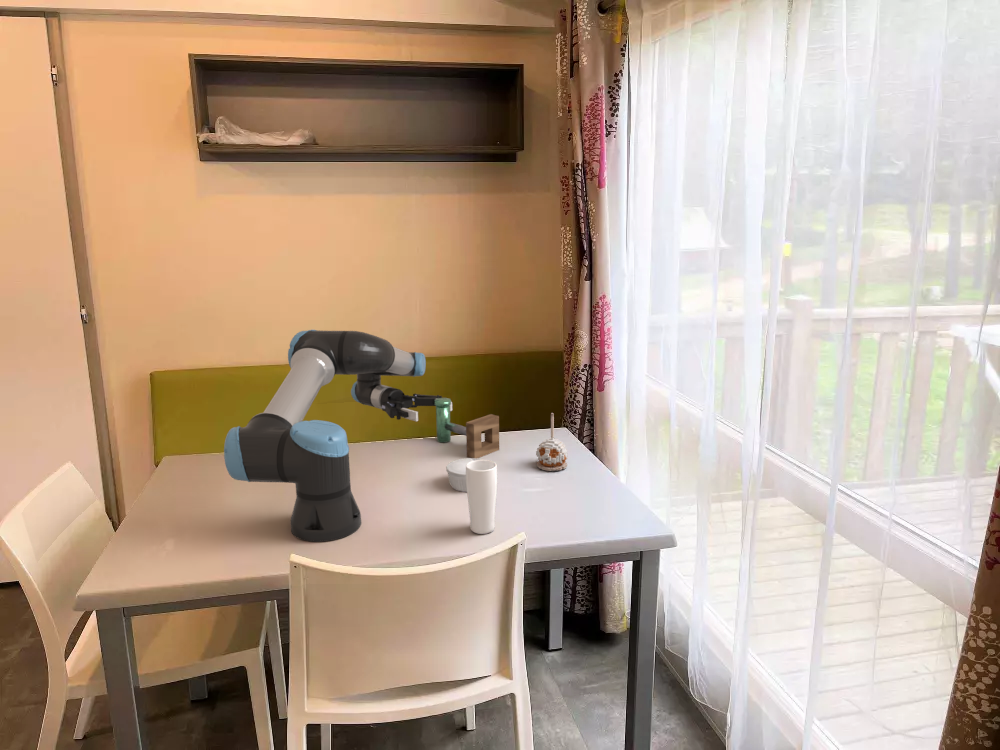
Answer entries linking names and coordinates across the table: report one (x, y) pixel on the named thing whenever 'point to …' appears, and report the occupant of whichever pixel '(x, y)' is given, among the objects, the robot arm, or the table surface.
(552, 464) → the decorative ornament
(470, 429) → the brown striped block
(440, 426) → the green tall capped cylinder
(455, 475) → the ramekin
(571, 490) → the table surface
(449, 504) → the table surface
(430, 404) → the robot arm
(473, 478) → the drinking glass
